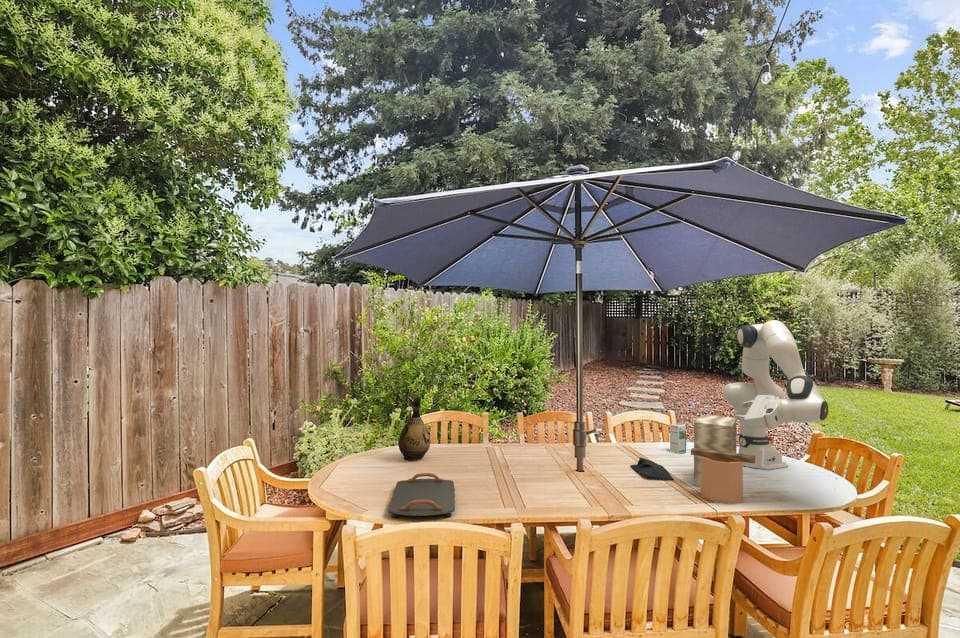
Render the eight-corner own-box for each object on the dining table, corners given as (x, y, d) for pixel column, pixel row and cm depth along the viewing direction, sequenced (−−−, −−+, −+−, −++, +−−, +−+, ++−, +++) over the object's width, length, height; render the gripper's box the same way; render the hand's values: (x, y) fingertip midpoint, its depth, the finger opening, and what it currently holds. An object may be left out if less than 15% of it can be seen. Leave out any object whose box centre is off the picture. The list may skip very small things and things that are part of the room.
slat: (755, 461, 186) (755, 455, 186) (754, 463, 182) (754, 458, 183) (692, 452, 198) (692, 447, 198) (690, 454, 194) (690, 449, 194)
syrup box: (678, 454, 254) (678, 425, 254) (669, 451, 259) (669, 423, 260) (686, 452, 257) (686, 425, 257) (677, 450, 262) (677, 423, 262)
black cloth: (640, 481, 210) (640, 469, 211) (629, 466, 232) (629, 456, 232) (677, 482, 209) (677, 471, 209) (662, 467, 231) (662, 457, 231)
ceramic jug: (428, 463, 233) (428, 399, 233) (395, 462, 233) (396, 399, 233) (432, 454, 250) (432, 394, 250) (401, 453, 250) (402, 394, 250)
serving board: (397, 485, 201) (397, 470, 201) (454, 485, 203) (454, 470, 203) (385, 523, 162) (385, 504, 162) (455, 522, 164) (456, 503, 164)
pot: (724, 489, 198) (724, 452, 199) (751, 501, 185) (751, 461, 185) (694, 492, 195) (694, 454, 195) (719, 504, 181) (719, 463, 182)
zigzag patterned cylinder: (736, 477, 215) (736, 417, 215) (731, 491, 196) (732, 426, 196) (701, 472, 222) (701, 414, 222) (693, 485, 203) (694, 422, 204)
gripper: (781, 390, 195) (744, 391, 205) (767, 416, 181) (728, 416, 192) (785, 404, 196) (748, 404, 206) (772, 431, 182) (733, 430, 193)
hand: (738, 410), depth 199 cm, fingers open, 8 cm apart
